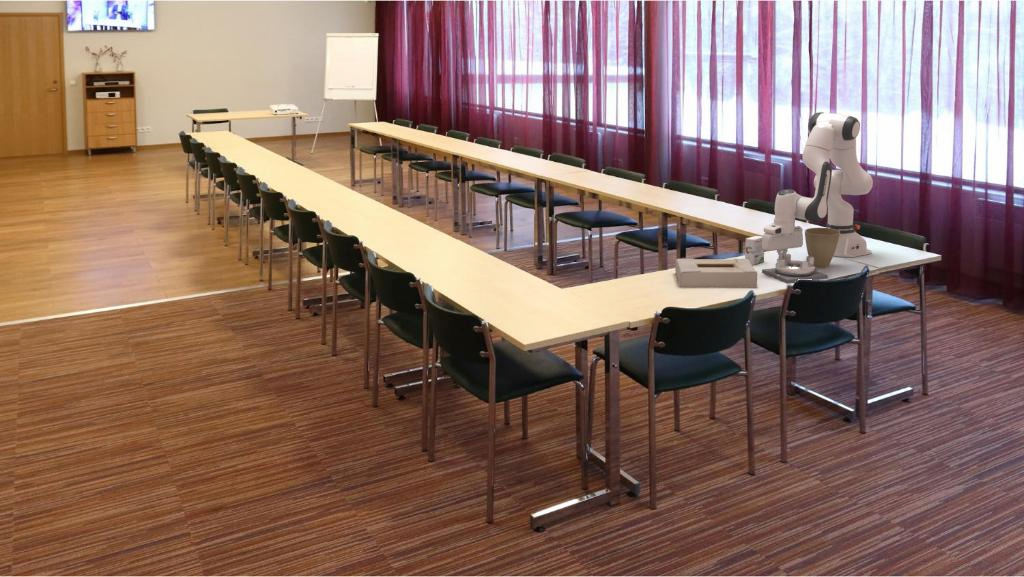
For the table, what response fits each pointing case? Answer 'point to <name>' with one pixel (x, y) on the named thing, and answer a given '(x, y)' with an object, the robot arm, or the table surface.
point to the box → (715, 273)
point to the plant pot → (821, 245)
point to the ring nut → (795, 266)
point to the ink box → (754, 250)
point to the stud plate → (792, 279)
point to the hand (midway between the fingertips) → (781, 258)
